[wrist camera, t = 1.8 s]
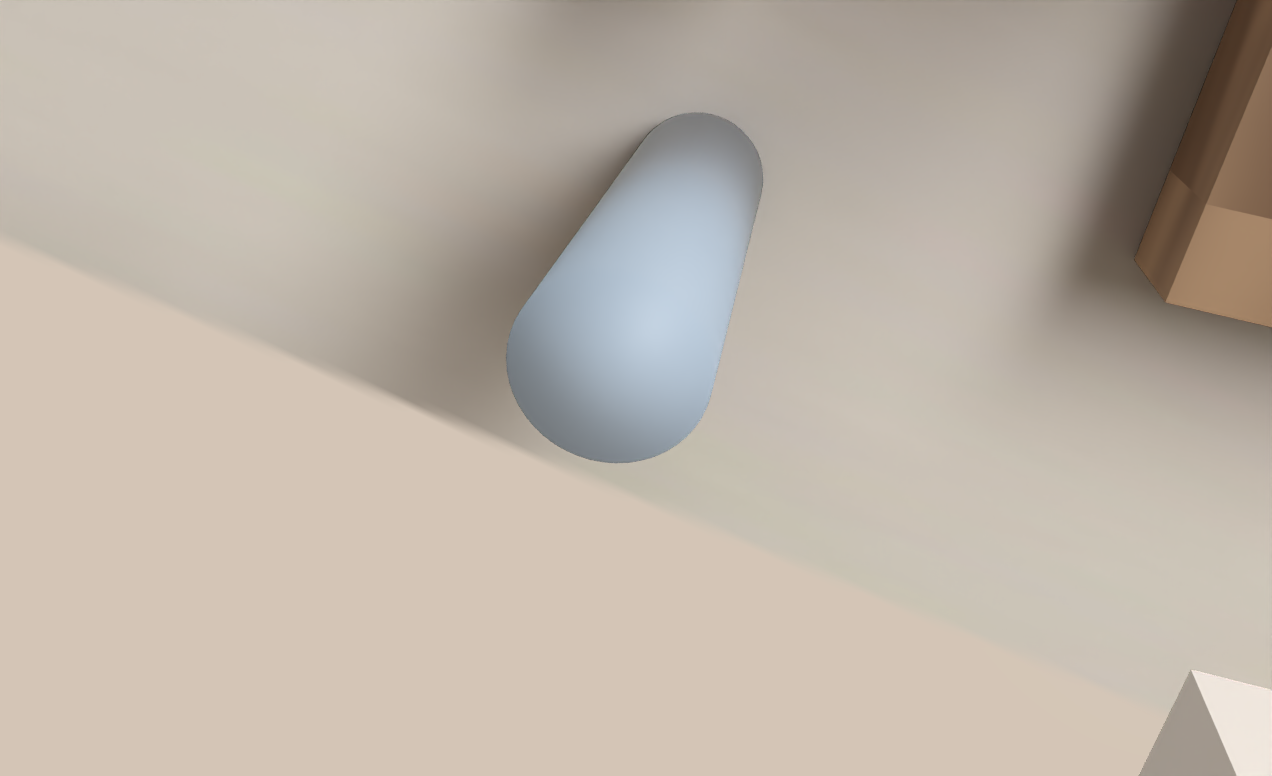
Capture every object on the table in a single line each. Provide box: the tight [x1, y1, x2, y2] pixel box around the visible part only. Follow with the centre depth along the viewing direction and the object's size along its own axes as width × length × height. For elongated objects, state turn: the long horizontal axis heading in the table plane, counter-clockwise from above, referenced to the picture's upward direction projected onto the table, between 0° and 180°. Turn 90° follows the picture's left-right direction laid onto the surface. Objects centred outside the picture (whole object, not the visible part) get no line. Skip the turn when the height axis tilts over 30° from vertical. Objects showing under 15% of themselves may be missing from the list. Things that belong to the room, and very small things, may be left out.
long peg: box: [506, 113, 763, 463], centre depth 23 cm, size 3×3×12 cm
